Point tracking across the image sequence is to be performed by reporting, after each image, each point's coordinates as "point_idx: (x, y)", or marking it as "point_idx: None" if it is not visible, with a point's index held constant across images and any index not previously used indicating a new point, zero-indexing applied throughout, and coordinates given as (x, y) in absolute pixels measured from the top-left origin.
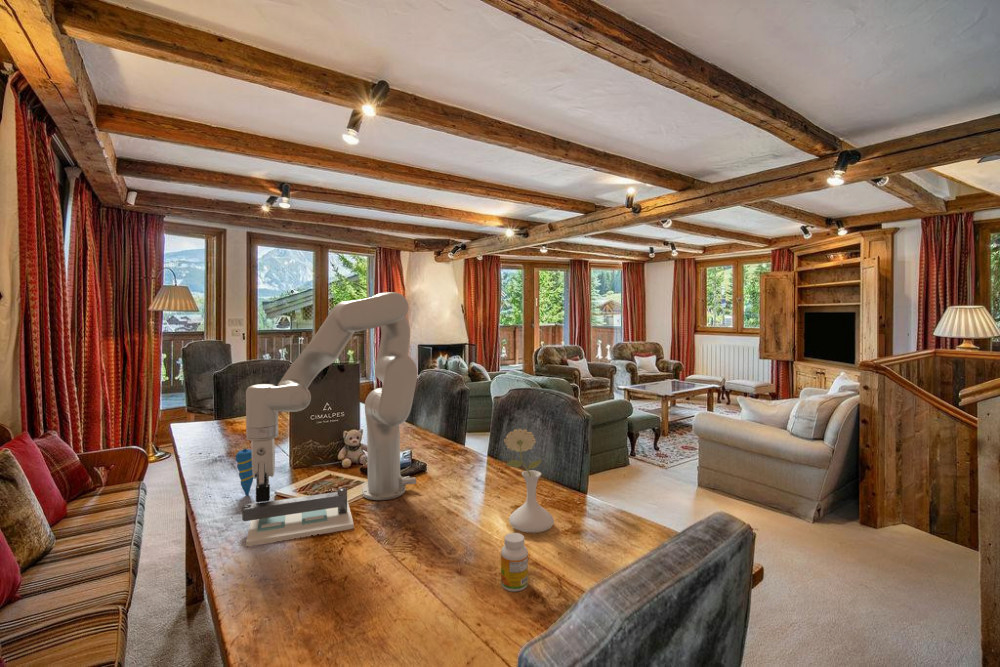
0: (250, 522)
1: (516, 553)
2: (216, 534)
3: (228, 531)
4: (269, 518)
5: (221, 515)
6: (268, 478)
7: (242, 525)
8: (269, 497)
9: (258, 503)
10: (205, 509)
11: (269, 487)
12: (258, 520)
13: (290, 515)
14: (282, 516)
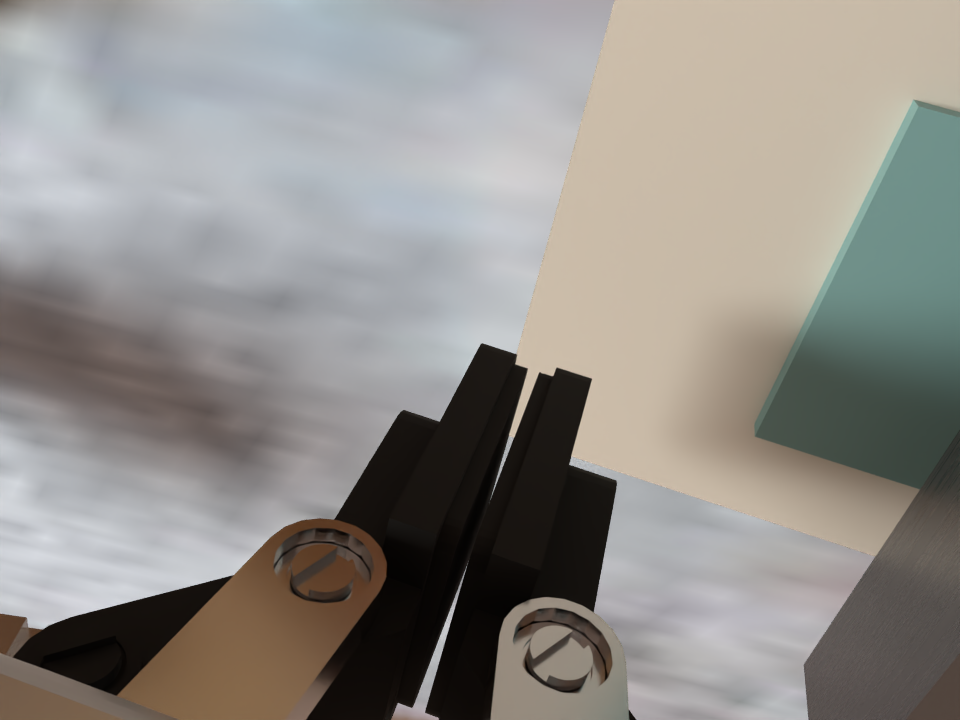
0: (739, 511)
1: None
2: (675, 704)
3: (682, 631)
4: (858, 339)
5: (236, 560)
6: (327, 658)
7: (620, 512)
8: (584, 403)
9: (958, 717)
10: (44, 598)
11: (527, 530)
12: (751, 434)
13: (955, 5)
14: (951, 162)
